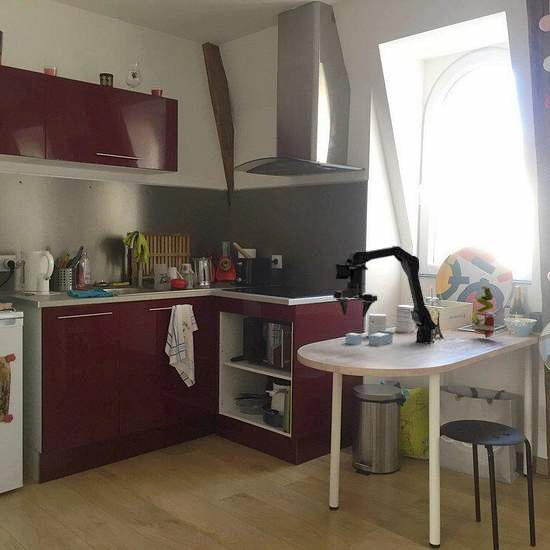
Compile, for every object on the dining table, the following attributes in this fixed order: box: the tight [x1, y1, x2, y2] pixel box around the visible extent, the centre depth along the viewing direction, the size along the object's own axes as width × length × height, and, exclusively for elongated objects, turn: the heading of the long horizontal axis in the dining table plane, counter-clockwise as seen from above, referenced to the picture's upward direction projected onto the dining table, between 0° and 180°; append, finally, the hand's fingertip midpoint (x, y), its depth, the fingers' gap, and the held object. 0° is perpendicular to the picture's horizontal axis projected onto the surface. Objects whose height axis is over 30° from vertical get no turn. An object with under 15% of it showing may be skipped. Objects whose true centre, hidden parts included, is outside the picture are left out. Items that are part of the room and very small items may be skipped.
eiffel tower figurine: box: [433, 312, 454, 341], centre depth 299 cm, size 15×10×13 cm
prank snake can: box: [471, 284, 495, 338], centre depth 300 cm, size 12×10×25 cm
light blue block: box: [344, 332, 362, 346], centre depth 276 cm, size 5×5×4 cm
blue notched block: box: [368, 330, 396, 347], centre depth 279 cm, size 7×13×5 cm, turn 144°
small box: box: [367, 313, 387, 338], centre depth 295 cm, size 8×6×10 cm
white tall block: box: [395, 304, 416, 334], centre depth 316 cm, size 7×7×13 cm
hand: (354, 316), depth 275 cm, fingers open, 9 cm apart
